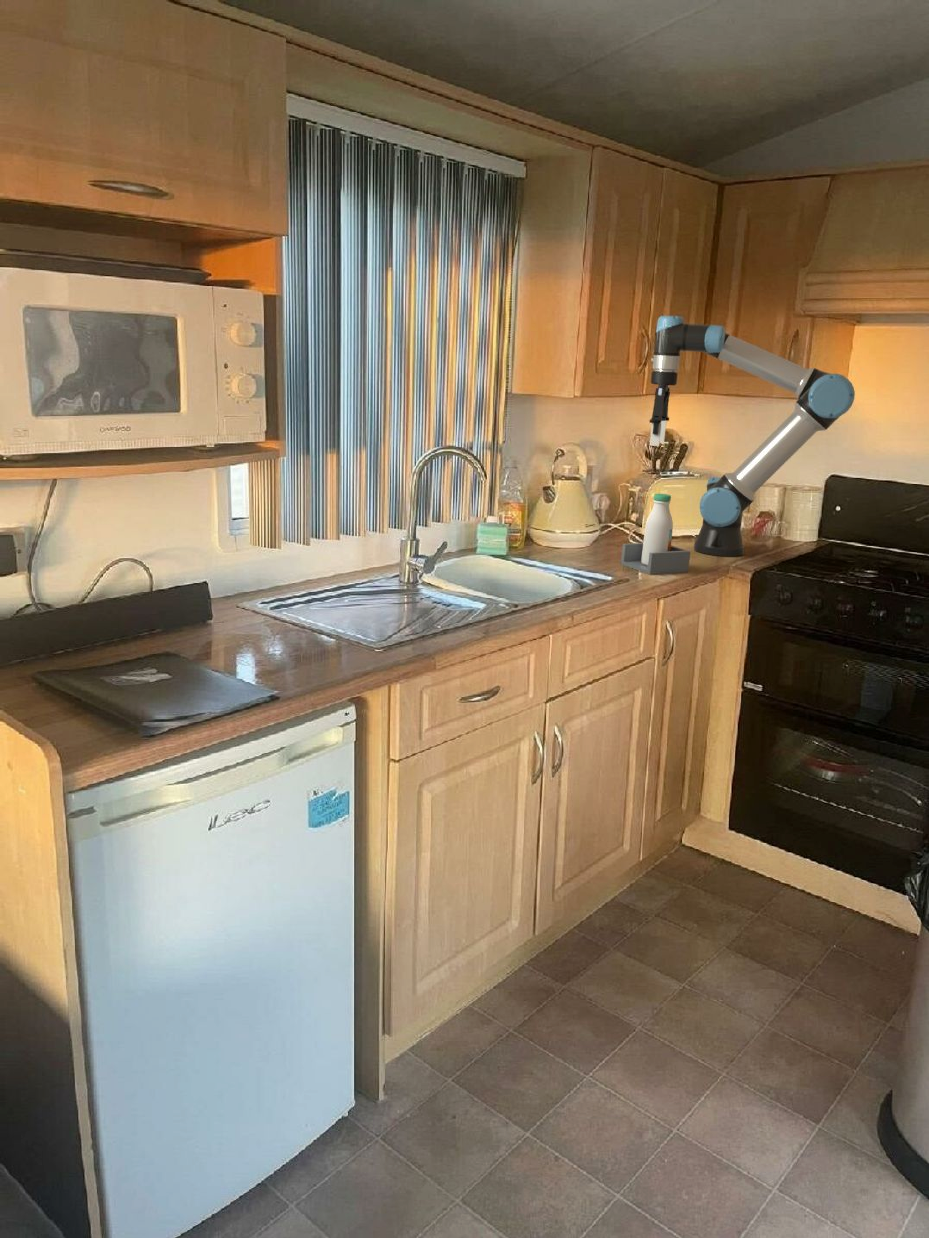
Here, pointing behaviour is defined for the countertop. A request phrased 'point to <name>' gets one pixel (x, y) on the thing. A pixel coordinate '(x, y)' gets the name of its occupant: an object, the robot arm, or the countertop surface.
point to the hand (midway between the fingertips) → (656, 444)
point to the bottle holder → (656, 559)
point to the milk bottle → (658, 528)
